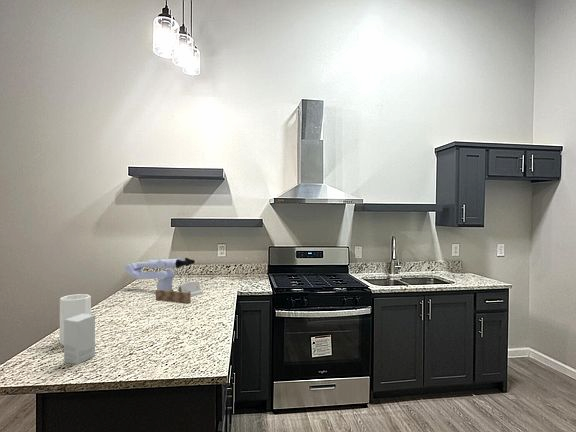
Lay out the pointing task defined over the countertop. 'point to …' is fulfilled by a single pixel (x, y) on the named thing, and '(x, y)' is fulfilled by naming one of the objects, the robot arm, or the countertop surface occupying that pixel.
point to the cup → (73, 309)
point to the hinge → (191, 288)
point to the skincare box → (79, 338)
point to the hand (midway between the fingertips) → (190, 262)
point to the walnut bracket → (173, 296)
